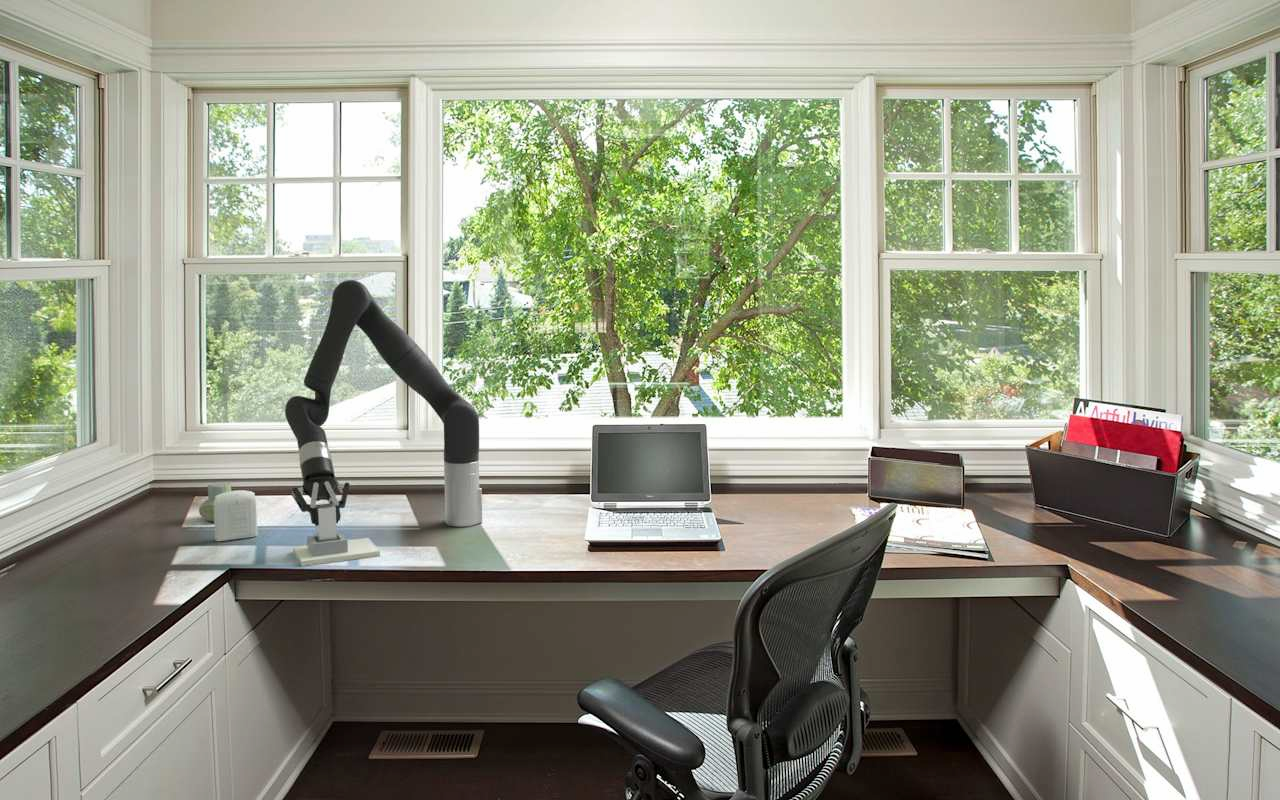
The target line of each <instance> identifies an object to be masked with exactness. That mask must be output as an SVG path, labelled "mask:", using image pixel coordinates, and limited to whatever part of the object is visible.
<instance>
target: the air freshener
mask: <svg viewBox="0 0 1280 800" xmlns="http://www.w3.org/2000/svg"><path fill="white" fill-rule="evenodd" d="M229 491H232V484H231V482H227V481H218V482H212V483H210V484H208V485H207V498H208V499H207V500H205V501H204V502H202V503H201V505H199V508H198V513H199V515H200V516H201V517H202V518H203V519H204V520H206V521H209V522H211V523H214V500H215V496H217V495H219V494H222V493H225V492H229Z"/></svg>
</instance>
